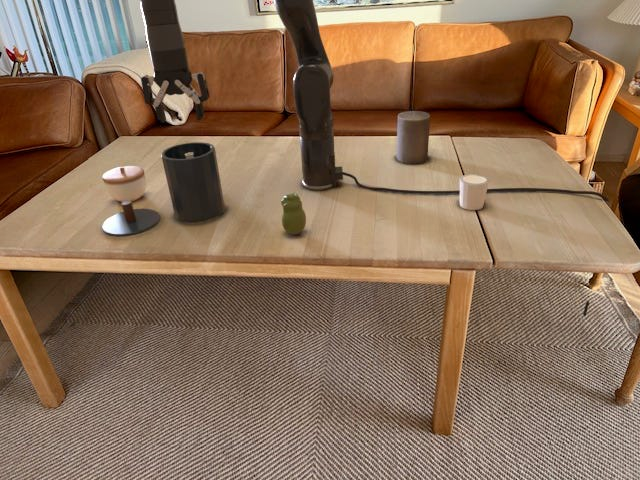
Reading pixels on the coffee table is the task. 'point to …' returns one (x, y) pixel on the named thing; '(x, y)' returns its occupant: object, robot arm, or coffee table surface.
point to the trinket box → (125, 183)
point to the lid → (130, 221)
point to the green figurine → (293, 214)
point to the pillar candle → (413, 137)
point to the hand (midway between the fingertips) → (182, 120)
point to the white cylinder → (473, 191)
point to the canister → (193, 181)
